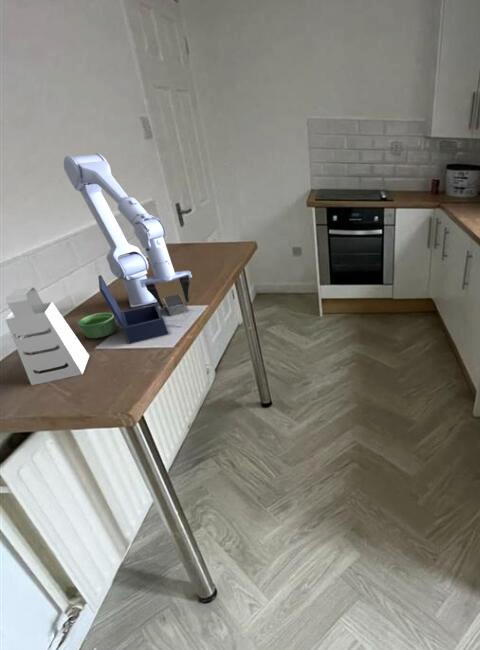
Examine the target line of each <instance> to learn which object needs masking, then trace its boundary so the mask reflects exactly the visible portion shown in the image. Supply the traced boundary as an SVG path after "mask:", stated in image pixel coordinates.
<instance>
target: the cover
mask: <svg viewBox="0 0 480 650" xmlns="http://www.w3.org/2000/svg"><path fill="white" fill-rule="evenodd" d="M98 287H99V291H100V293H101V295H102V297H103V298H104V300H105V302H106V304H107V305H108V307H109V309H110V311H111V313H112V314H113V315H114V319H115V320H116V321H117V323H118V325H119V326H120V328H123V327H124V325H123V320H122V315H121V312H122V310H121V308H120V307H119V305H118V303H117V300H116V299H115V297H114V296H113V294H112V292H111V290H110V288H109V286H108V285H107V283H106V281H105V280H104V277H103V276H102V275H101V274H100V275H98Z"/></svg>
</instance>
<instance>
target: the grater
mask: <svg viewBox="0 0 480 650" xmlns="http://www.w3.org/2000/svg"><path fill="white" fill-rule="evenodd" d="M5 300H6V304H7V306H8V307H9V310H10V311H11V312H10V313H9V315H7V316H6V318H5V319H4V320H5V322H6V325H7V327H8V330H9V333H10V335H11V337H12V340H13V342H14V345H15V348H16V350H17V353H18V355H19V357H20V360H21V362H22V365H23V367H24V370H25V374H26V376H27V379H28V380H29V382H30V383H29V384H30V385H31V386H35V385H40V384H44V383H49V382H54V381H58V380H63V379H67V378H70V377H71V378H72V377H77V376H81V375H84V372H85V370H86V366H87V364H88V361H89V358H90V354H89V352H87V350H86V348H85V347H84V346H83V344H82V343H81V342H80V340H79V339H78V337H77V336H76V334H75V333H74V331H73V330H72V328H71V327H70V325H69V324H68V323H67V321H66V320H65V318H64V317H63V315H62V314H61V313H60V311H59V310H58V308H57V307H56V305H55V304H54V302H53V301H49V302H44V301H42V299H41V297H40V295H39V293H38V291H37V290H36V288H35V287H33V286H31V287H25V288H24V287H23V288H19V289H13V290H12V291H11V292H10V293H9V294H8V295H7V296H6V297H5ZM66 364H67V367H65V368H60V369H56V370H52V369H55V368H58V367H63V366H65V365H66ZM50 369H51V371H47V372H42V373H40V372H41V371H46V370H50Z"/></svg>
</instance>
